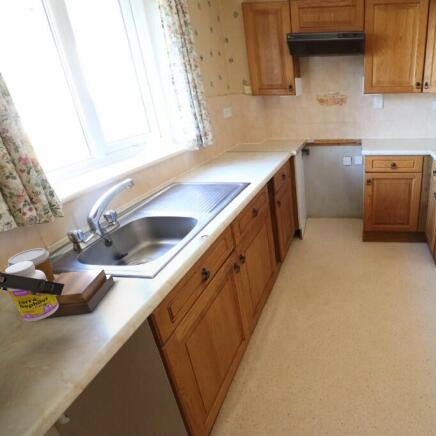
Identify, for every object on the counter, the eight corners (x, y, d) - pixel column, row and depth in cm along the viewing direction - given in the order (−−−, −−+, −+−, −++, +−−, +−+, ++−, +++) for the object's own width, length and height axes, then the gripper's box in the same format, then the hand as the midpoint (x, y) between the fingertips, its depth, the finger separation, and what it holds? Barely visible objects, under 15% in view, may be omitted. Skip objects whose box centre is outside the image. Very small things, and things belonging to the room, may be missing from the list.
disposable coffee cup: (18, 301, 95) (-1, 267, 90) (30, 284, 103) (13, 252, 98) (57, 292, 98) (41, 259, 93) (66, 276, 106) (51, 244, 101)
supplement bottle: (22, 327, 72) (-5, 279, 66) (25, 311, 76) (0, 265, 71) (59, 314, 75) (37, 267, 70) (60, 299, 80) (39, 255, 75)
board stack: (36, 318, 88) (27, 301, 85) (67, 287, 100) (59, 271, 98) (91, 312, 89) (83, 294, 87) (114, 282, 102) (108, 266, 99)
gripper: (-19, 251, 55) (89, 275, 77) (-112, 247, 58) (18, 271, 79) (-39, 296, 53) (79, 307, 74) (-135, 290, 55) (6, 302, 77)
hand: (47, 288), depth 77 cm, fingers closed on supplement bottle, 7 cm apart
